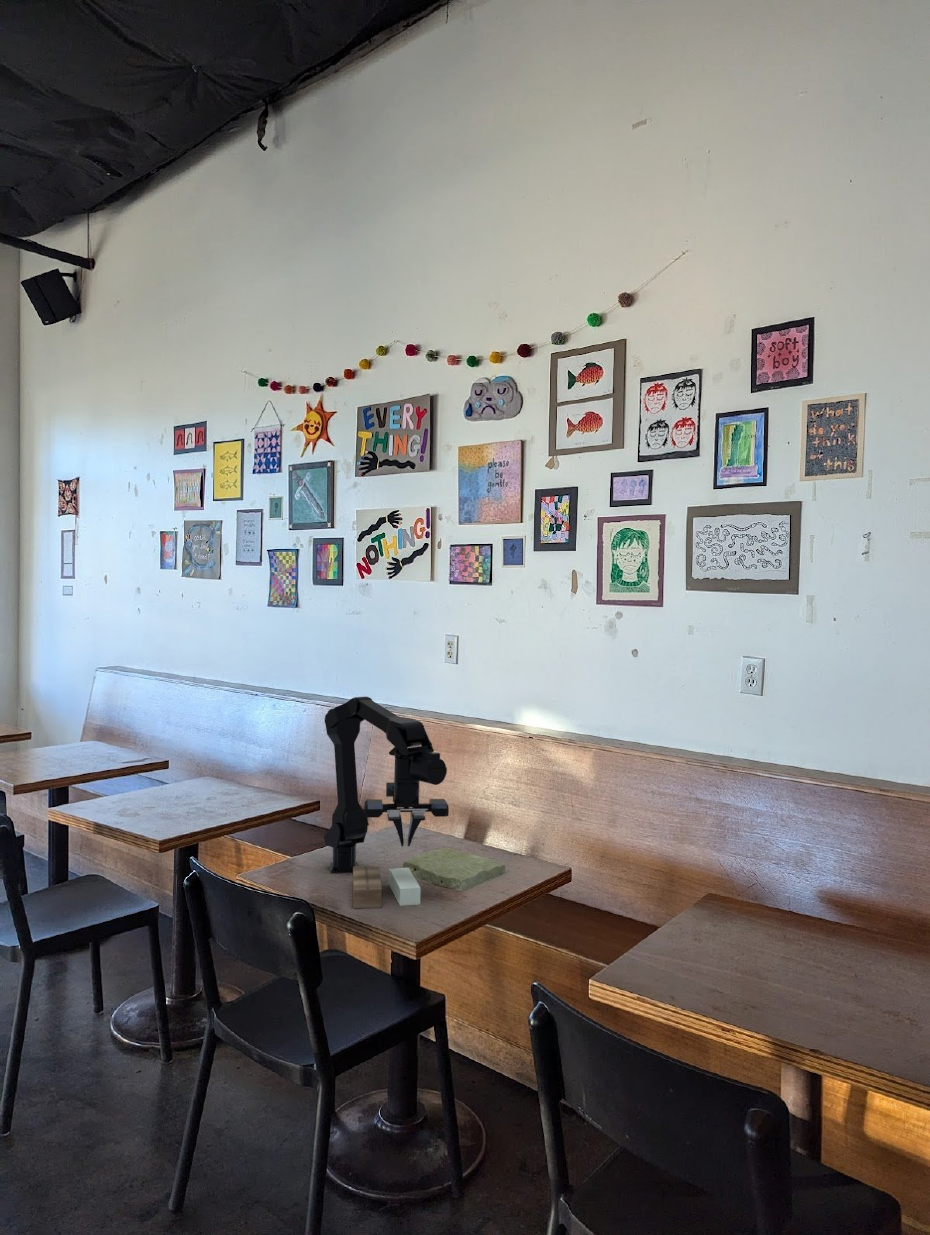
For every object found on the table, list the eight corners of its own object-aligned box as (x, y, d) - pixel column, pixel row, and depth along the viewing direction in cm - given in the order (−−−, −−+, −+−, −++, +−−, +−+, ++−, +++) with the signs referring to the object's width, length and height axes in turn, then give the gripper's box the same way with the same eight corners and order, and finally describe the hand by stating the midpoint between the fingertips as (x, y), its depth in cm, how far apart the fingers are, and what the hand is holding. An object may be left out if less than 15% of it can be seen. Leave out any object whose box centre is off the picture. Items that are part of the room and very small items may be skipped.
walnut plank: (352, 883, 200) (353, 865, 200) (378, 882, 201) (378, 865, 201) (353, 908, 184) (353, 889, 184) (381, 907, 185) (381, 888, 185)
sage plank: (420, 905, 188) (420, 887, 188) (399, 907, 187) (400, 888, 186) (408, 884, 201) (408, 867, 201) (389, 885, 200) (389, 868, 200)
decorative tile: (443, 858, 223) (443, 844, 223) (506, 875, 211) (507, 860, 211) (394, 875, 208) (395, 861, 208) (460, 894, 196) (460, 879, 196)
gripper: (443, 769, 202) (442, 835, 203) (364, 770, 200) (363, 836, 200) (449, 779, 191) (448, 849, 192) (365, 780, 189) (364, 850, 189)
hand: (405, 845), depth 194 cm, fingers closed
